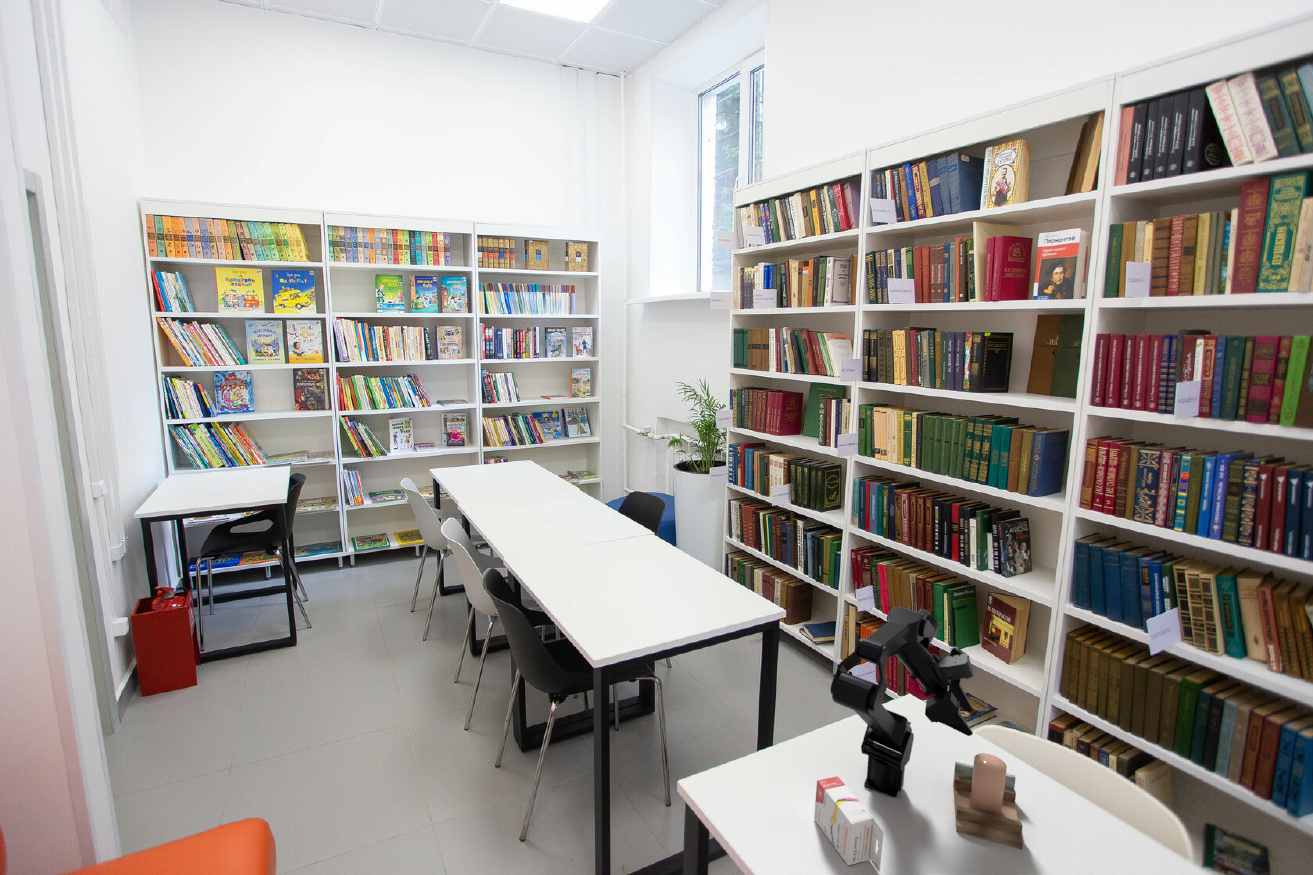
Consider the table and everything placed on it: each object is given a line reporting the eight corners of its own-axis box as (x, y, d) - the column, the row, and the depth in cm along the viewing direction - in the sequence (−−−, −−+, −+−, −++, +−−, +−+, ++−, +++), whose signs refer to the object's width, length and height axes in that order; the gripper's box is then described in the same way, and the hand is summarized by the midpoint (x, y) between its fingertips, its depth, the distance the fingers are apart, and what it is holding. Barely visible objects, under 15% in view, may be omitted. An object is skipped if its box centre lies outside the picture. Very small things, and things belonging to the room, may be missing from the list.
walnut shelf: (956, 830, 123) (958, 806, 122) (953, 783, 136) (955, 761, 135) (1021, 848, 119) (1025, 823, 118) (1012, 798, 132) (1015, 775, 131)
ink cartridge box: (815, 779, 124) (861, 835, 110) (837, 774, 126) (885, 829, 112) (812, 819, 126) (857, 880, 112) (835, 814, 127) (882, 873, 113)
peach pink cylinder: (967, 811, 127) (972, 765, 125) (971, 794, 131) (976, 749, 130) (1000, 823, 124) (1005, 775, 122) (1002, 805, 128) (1007, 759, 127)
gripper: (948, 661, 126) (1006, 729, 123) (951, 623, 142) (1003, 682, 140) (902, 689, 131) (957, 754, 128) (910, 648, 147) (959, 706, 144)
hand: (971, 722), depth 135 cm, fingers open, 9 cm apart
